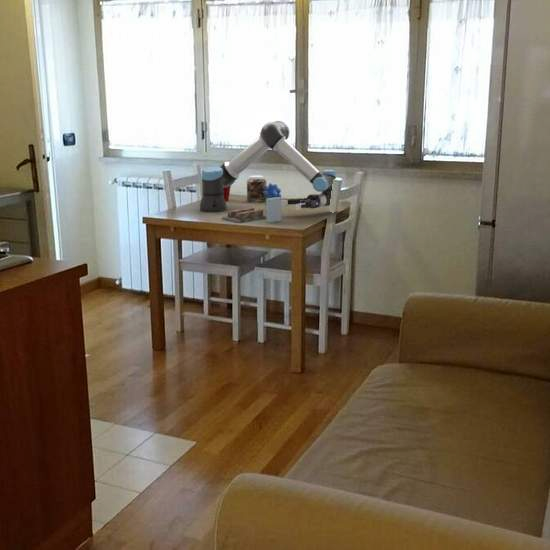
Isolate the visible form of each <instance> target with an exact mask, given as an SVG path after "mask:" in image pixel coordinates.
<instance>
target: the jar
mask: <svg viewBox="0 0 550 550" xmlns="http://www.w3.org/2000/svg"><path fill="white" fill-rule="evenodd" d="M265 186H267V180H266V179H265V178H264V175H259V174H258V175H249V178H248V179H247V181H246V202H247V201H248V203H252V202H260V203H265V202H264V201H266V196H265V195H264V191H266V190H265Z"/></svg>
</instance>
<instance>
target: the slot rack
mask: <svg viewBox="0 0 550 550" xmlns="http://www.w3.org/2000/svg"><path fill="white" fill-rule="evenodd" d="M226 211H227V212H226V216H222V217H221V219H222V220H223V219H225V220H224V221H228V220H229V222H232V221H234V222H233V223H237V222H239V223H238V224H241V223H240V222H242V223H247V222H246V221H248V222H253V221H252V220H254V221H258V220H259V219H260V220H264V219H265V218H266V214H264V210H263V209H261V208H260V209H256V208H254V207H249V208H248V207H247V208H241V209H235V210H229V211H228V210H226Z"/></svg>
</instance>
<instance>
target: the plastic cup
mask: <svg viewBox="0 0 550 550" xmlns="http://www.w3.org/2000/svg"><path fill="white" fill-rule="evenodd" d="M231 187H232V185H231V186H229V187H225V188H223V197H224V199H225V202H228V201H229V199H230V192H231Z"/></svg>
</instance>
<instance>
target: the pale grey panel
mask: <svg viewBox="0 0 550 550" xmlns="http://www.w3.org/2000/svg"><path fill="white" fill-rule="evenodd" d="M281 201H282V197H281V198H280V197H276V198H269V199H266V202H265V204H266V208H265V210H266V213H265V215H266V223H268V222H269V223H268V224H270V222H271V223H275V222H276V221H277V222H281V221H282V206H281ZM277 222H276V223H277Z"/></svg>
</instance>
